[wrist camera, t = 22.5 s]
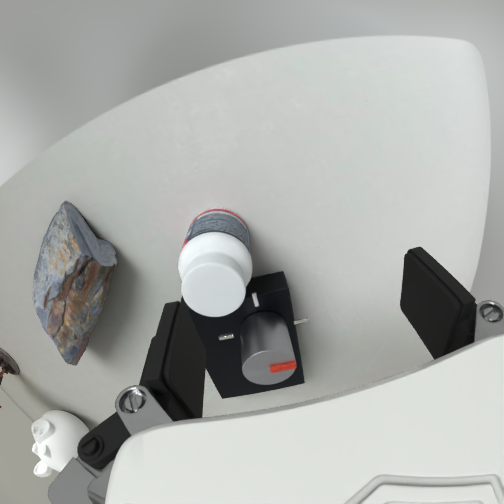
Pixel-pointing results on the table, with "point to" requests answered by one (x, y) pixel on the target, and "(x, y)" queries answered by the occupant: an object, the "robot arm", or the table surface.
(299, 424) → the robot arm
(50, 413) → the piggy bank
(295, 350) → the hob panel
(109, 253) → the stone
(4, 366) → the figurine
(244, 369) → the knob
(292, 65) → the table surface
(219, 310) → the pill bottle
